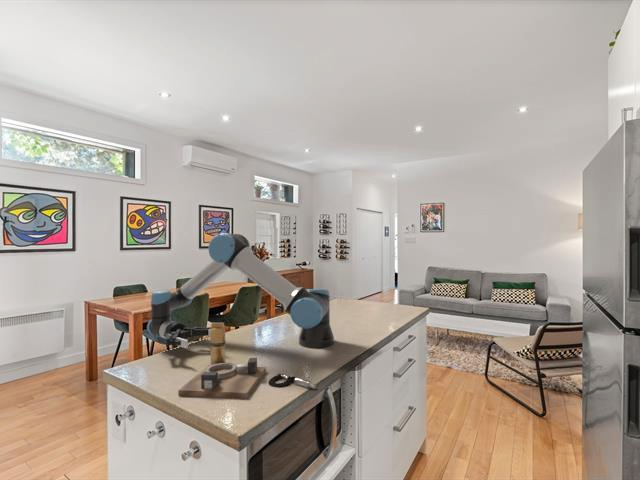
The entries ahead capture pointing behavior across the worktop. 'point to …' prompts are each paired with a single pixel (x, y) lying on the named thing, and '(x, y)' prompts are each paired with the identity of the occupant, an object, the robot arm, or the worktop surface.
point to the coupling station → (225, 380)
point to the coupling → (217, 343)
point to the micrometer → (290, 381)
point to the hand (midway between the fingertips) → (203, 339)
